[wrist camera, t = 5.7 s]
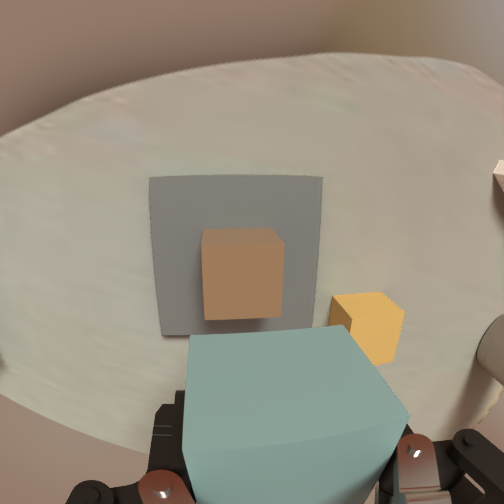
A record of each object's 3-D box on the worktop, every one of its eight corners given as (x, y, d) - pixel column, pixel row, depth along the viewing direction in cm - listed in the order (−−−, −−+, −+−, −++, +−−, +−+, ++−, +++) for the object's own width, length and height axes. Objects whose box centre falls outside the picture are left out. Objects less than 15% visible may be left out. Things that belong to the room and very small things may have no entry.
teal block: (342, 324, 11) (410, 415, 6) (323, 424, 13) (360, 509, 8) (189, 335, 10) (182, 449, 6) (203, 436, 12) (206, 532, 7)
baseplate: (317, 176, 26) (347, 181, 20) (308, 322, 30) (328, 357, 24) (152, 177, 24) (134, 181, 19) (163, 328, 28) (154, 367, 23)
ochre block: (380, 291, 30) (405, 312, 26) (371, 336, 32) (392, 361, 27) (332, 295, 30) (352, 319, 25) (325, 342, 31) (342, 370, 27)
